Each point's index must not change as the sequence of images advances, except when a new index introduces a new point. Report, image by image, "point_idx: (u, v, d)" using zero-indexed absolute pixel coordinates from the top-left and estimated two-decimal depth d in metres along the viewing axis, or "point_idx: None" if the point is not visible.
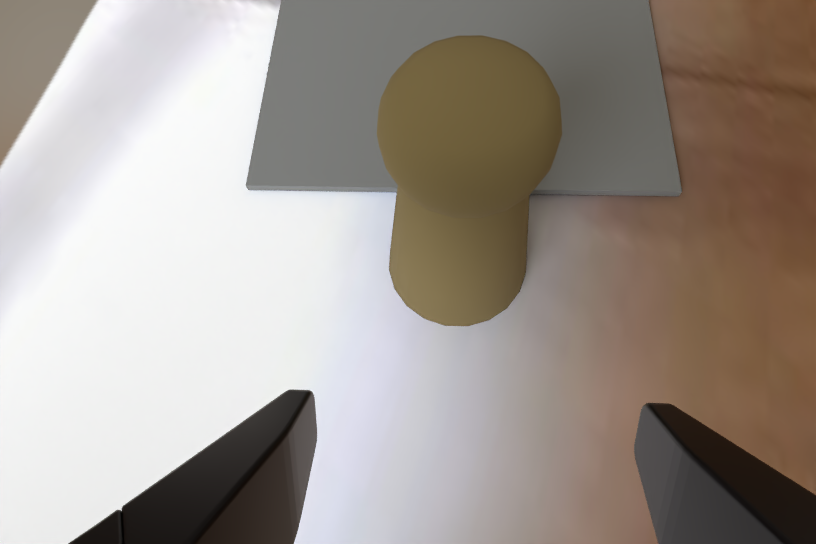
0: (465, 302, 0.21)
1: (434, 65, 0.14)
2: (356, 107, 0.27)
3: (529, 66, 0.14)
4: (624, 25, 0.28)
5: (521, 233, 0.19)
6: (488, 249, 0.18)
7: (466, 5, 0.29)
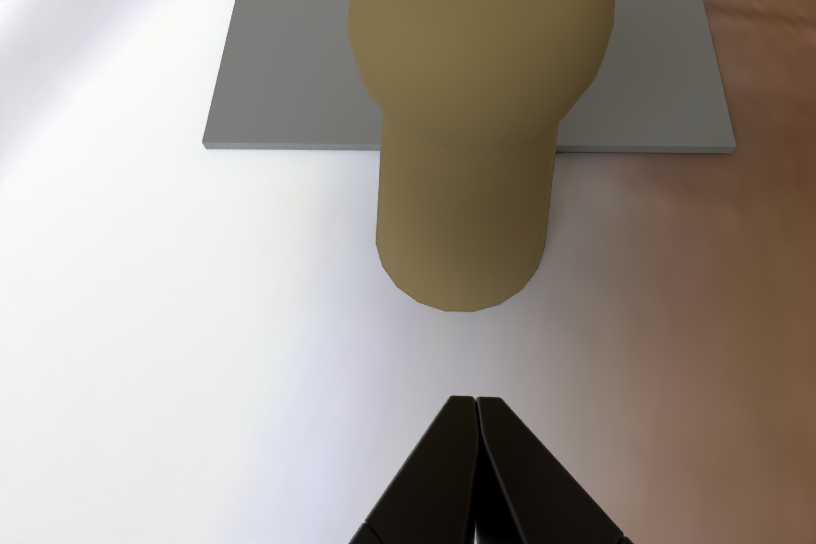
0: (470, 280, 0.16)
1: None
2: (337, 51, 0.22)
3: None
4: None
5: (545, 186, 0.14)
6: (502, 204, 0.13)
7: None
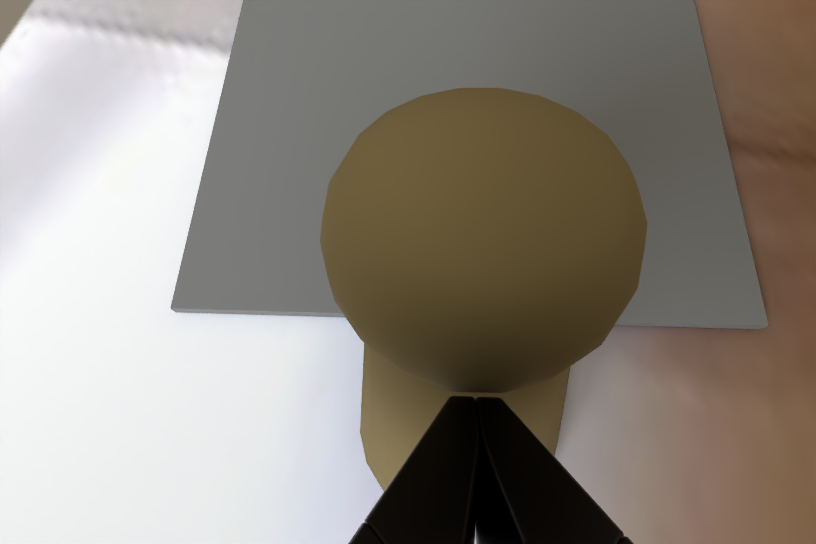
0: None
1: (419, 127, 0.08)
2: (323, 196, 0.20)
3: (586, 130, 0.08)
4: (675, 83, 0.22)
5: (561, 398, 0.12)
6: None
7: (469, 55, 0.23)
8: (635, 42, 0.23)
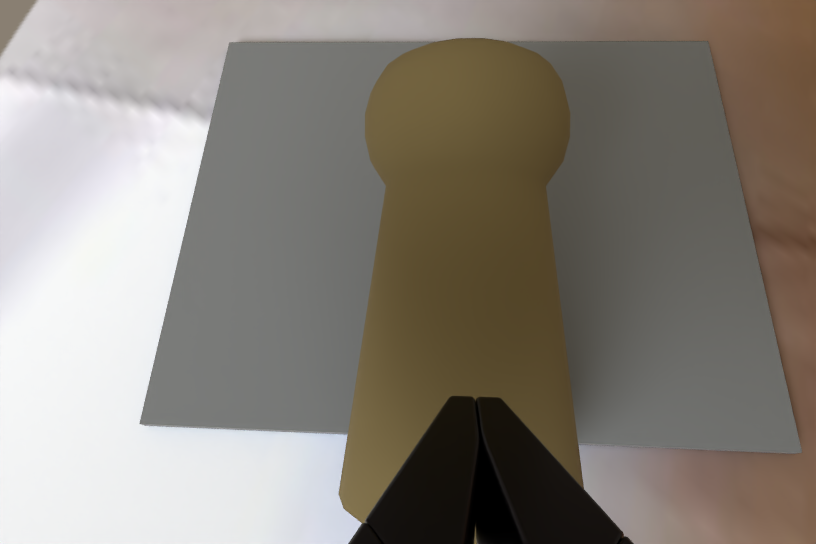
0: None
1: None
2: (309, 291, 0.19)
3: None
4: (694, 162, 0.20)
5: (555, 296, 0.13)
6: (507, 263, 0.12)
7: None
8: (650, 112, 0.21)
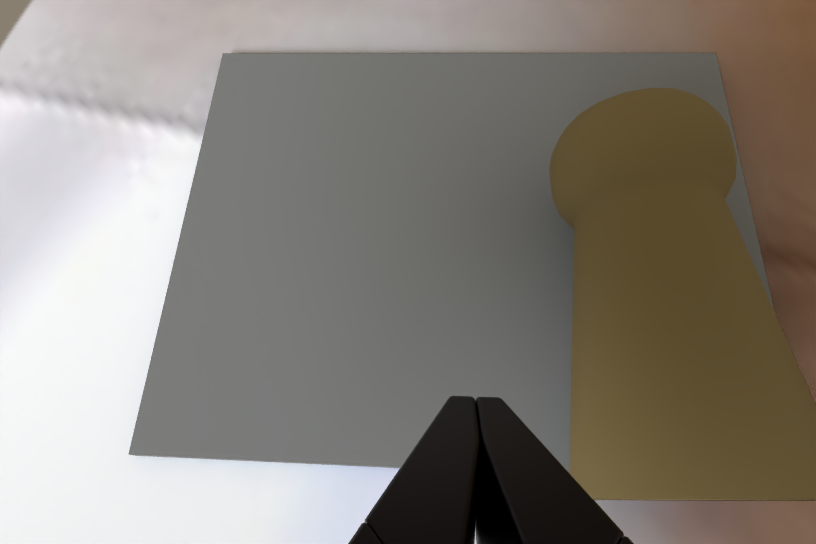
0: None
1: None
2: (304, 314, 0.18)
3: None
4: None
5: None
6: None
7: (469, 142, 0.20)
8: None
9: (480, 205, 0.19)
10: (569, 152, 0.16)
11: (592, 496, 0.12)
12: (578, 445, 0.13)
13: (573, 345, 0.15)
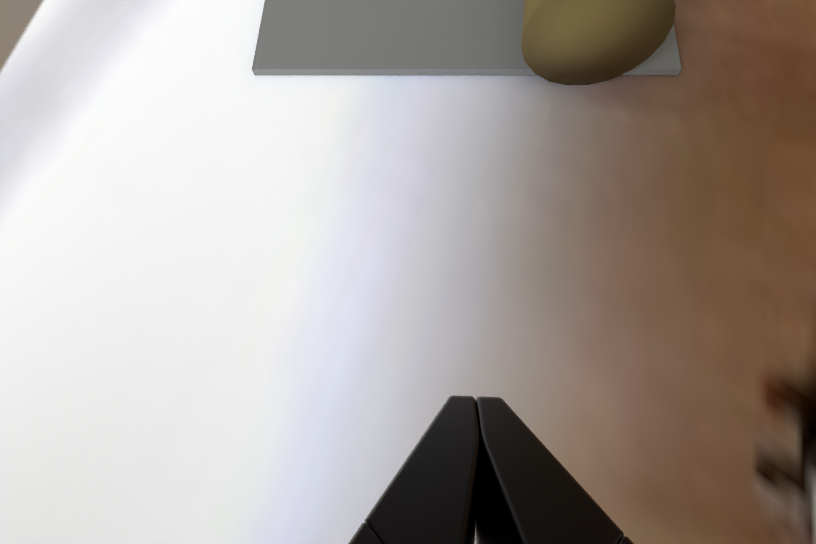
0: None
1: None
2: None
3: None
4: None
5: None
6: None
7: None
8: None
9: None
10: None
11: (528, 19, 0.22)
12: (524, 11, 0.23)
13: None
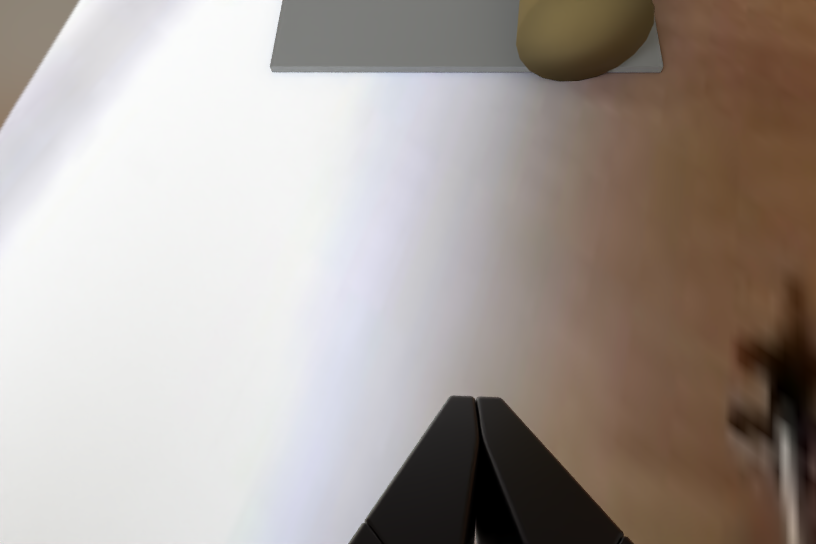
0: None
1: None
2: (369, 1, 0.30)
3: None
4: None
5: None
6: None
7: None
8: None
9: None
10: None
11: (522, 20, 0.24)
12: (519, 13, 0.25)
13: None
